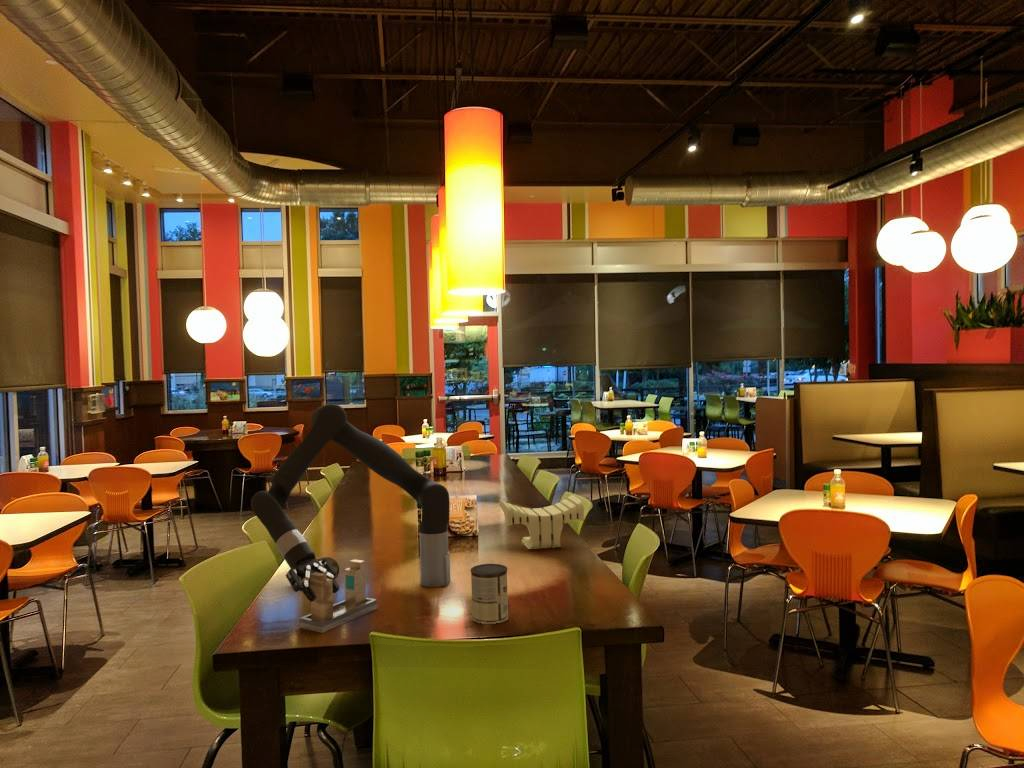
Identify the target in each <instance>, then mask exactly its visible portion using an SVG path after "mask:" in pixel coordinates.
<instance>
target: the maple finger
mask: <svg viewBox="0 0 1024 768" xmlns="http://www.w3.org/2000/svg"><path fill="white" fill-rule="evenodd" d="M309 586H310V587H311V589H312V590H313V592H314V593H315V595H316V599H315V600H314V601H313V602H310V614H311V619H314V620H318V621H324V620H326V619H329V618H331V617H333V604H334V596H333V595H334V593H333V585H332V579H328V578H326V574H322V573H317V572H315V573H312V574H310V585H309Z"/></svg>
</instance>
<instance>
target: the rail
mask: <svg viewBox="0 0 1024 768" xmlns="http://www.w3.org/2000/svg"><path fill="white" fill-rule="evenodd" d="M348 562H349V567H347V568H344V569H343V570H344V573H343V574H344V599H343V600H341V601H339V602H336V603H333V617H331V618H329V619H326V620H324V621H318V620H314V619H311V613H309V614H307V615H304V616H302V617H299V628H300V629H304V630H308V631H313V632H317V633H320V634H323V633H326V632H327V631H330V630H332V629H334V628H337V627H340V626H342V625H343V624H346V623H348V622H350V621H352V620H355V619H357V618H360V617H361V616H364V615H366V614H369V613H371V612H373V611H375V610H377V609H378V599H376V598H370V597H367V595H366V594H367V592H366V561H365V560H360V559H354V558H353V559H352V560H349V561H348Z"/></svg>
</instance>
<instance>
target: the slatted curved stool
mask: <svg viewBox="0 0 1024 768" xmlns="http://www.w3.org/2000/svg"><path fill="white" fill-rule="evenodd" d="M498 501H499V507H500V509H501V510H502V512H503V515H504V522H505V523H504V524H505V525H506V526H507V527H509V526H512V525H513V524H514V525H520V524H522V525H524V526H526V528H527V530H528V533H529V536H523V537H522V539H521V541H522V542H523V543H524V545H525V546H526V547H527V548H528V549H530V550H538V549H542V548H543V549H550V548H551V547H552V548H553V549H554V548H556V547H557V548H562V546H561V535H562V530H563V527H564V525H563V524H567V523H568V522H570V521H580V522H584V521H585V515H584V514H585V511H584V509H585V508H584V503H583V501H582V500H581V499H580V498H578V497H576V496H575V495H574V494H571V495H569V496H567V499H566V498H565V499H562V500H561V501H560V502H559V501H558V502H556V503H554V505H553V504H552V505H549V506H544V507H539V508H538V507H537V508H535V507H534V508H531V507H522V506H518V505H515V504H511V503H510V502H505V501H504V500H502V499H500V498H499V499H498ZM522 542H521V543H522ZM523 543H522V544H523ZM524 545H523V546H524ZM525 546H524V547H525ZM526 547H525V548H526ZM527 548H526V549H527ZM552 548H551V549H552ZM528 549H527V550H528Z"/></svg>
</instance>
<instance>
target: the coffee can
mask: <svg viewBox="0 0 1024 768" xmlns="http://www.w3.org/2000/svg"><path fill="white" fill-rule="evenodd" d="M470 575H471V576H470V577H471V578H470V579H471V581H470V582H471V583H470V584H471V607H472V608H471V609H472V613H471V614H472V617H471V620H472V621H473V622H474V621H475V622H474V623H476V622H477V624H480V623H481V625H496V623H498V624H502V623H504V622H506V621H508V619H509V604H508V603H509V600H508V567H507V565H503V564H499V563H483V564H482V563H481V564H478V565H475V566H473V567H471V568H470Z"/></svg>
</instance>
